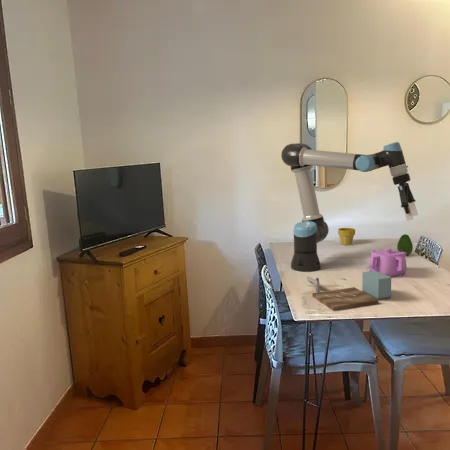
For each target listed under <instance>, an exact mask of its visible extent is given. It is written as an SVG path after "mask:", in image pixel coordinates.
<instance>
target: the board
mask: <svg viewBox="0 0 450 450" xmlns="http://www.w3.org/2000/svg"><path fill="white" fill-rule="evenodd" d="M311 295H312V297H313V298H314V299H316V301H319V302H320V303H321V304H322V305H324V306H326V307H328V308H329V309H330V310H332V311H340V310H346V309H354V308H360V307H365V306H372V305H378V304H379V301H378V300H377V299H376V298H374V297H372V296H370V295H368V294H366V293H364V292H362V290H360V289H359V288H357V287H354V286H353V287H346V288H339V289H331V290H326V291H320V292H317V291H316V292H313V293H312V294H311Z"/></svg>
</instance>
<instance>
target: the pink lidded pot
mask: <svg viewBox="0 0 450 450" xmlns="http://www.w3.org/2000/svg"><path fill="white" fill-rule="evenodd" d="M406 253H407V252H399V251H398V250H394V249H392V248H391V247H386V248H384V249H382V250H381V249H380V250H370V254H371V256H370V257H369V263H368V269H369V271H377V272H380V273H382V274H384V275H387V276H389V277H391V278H395V277H400V276H403V275H405V274H406V272H407V258H406Z"/></svg>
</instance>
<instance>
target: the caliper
mask: <svg viewBox="0 0 450 450" xmlns="http://www.w3.org/2000/svg"><path fill="white" fill-rule="evenodd" d="M306 278H307V279H306V280H307V281H308V282H311V283H312V284H313V286H315V292H316V293H317V292H321V291H320V278H319V277H315V278H312V277H310V276H307V277H306Z"/></svg>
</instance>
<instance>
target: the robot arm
mask: <svg viewBox="0 0 450 450" xmlns="http://www.w3.org/2000/svg"><path fill="white" fill-rule="evenodd" d="M403 152H404V151H403V149H402V146H401V144H400V142H399V141H395V142H392V143H389V144H386V145H384V146H383V150H381V151H379V152H378V151H377V152H375V153H373V154H360V153H349V152H339V151H327V150H319V149H317V150H316V149H312V147H311V146H310V145H309V144H307V143H303V142H300V143H290V144H287V145H285V146H284V147H283V149H282V150H281V154H280V155H281V160H282V162H283V163H284V164H285V165H286V166H289V167H290V170H291V172H292V173H294V176H295V180H296V185H297V189H298V194H299V199H300V201H299V202H300V206H301V210H302V214H303V217H302V219H301V221H299V222H297V223H295V224H294V226H293V256H292V258H291V261H290V268H291V269H292V270H294V271H296V272H297V271H299V272H315V271H318V270H320V269H321V262H320V258H319V255H318V244H319V243H320V242H323V241H324V240H325V239H326V238H327V236H328V235H329V232H330V231H329V230H330V229H329V228H330V227H329V225H328V223H327V222H326V221H325V219H324V215H322V214H321V213H320V208H319V205H318V198H317V194H316V190H315V186H314V179H313V174H312V168H313V167H314V166H315V167H325V168H333V169H344V170H350V171H351V170H353V171H359V172H361V173H368V172H372V171H376V170H378V169H380V168H383V167H384V168H385V167H387V166H388V169H389V172H390V175H391V177H392V181H393V185H395V186H396V185H397V189H398V194H399V199H400V208H403V211H404V215H405V218H406V221H413V220H414V217H416V216H419V214H418V210H417V208H416V204H415V202H416V201H417V200H416V199H415V198H414V195H413V193H412V190H411V188H410V185H409V184H410V183H409V182H410V181H411V176H410V173H408V172H409V170H408V168H409V166H408V165H407V163H406V160H405V156H404V155H405V154H404V153H403Z"/></svg>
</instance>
